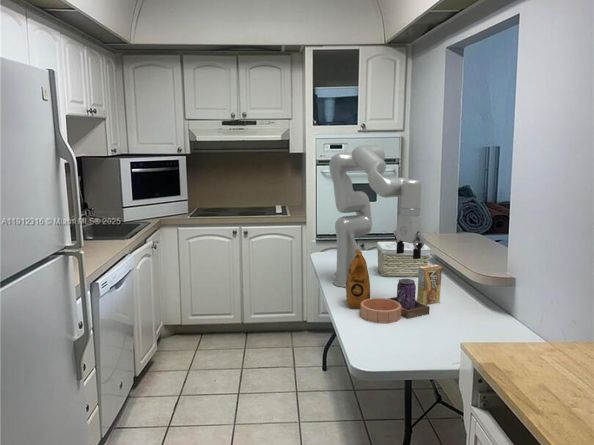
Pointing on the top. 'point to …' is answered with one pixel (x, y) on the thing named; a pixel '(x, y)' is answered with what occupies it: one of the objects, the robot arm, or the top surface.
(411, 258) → the storage basket
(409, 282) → the beverage can
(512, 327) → the top surface
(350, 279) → the coffee package
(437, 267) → the candy box
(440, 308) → the top surface
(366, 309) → the bowl
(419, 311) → the tray frame
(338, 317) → the top surface
